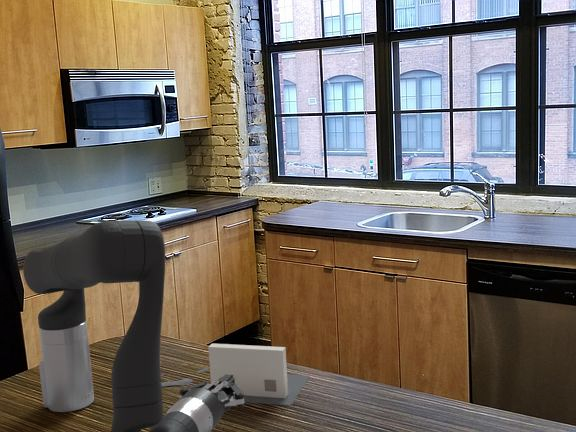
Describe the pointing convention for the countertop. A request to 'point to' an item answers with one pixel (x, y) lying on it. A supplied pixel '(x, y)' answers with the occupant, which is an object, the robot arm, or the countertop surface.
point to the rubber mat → (293, 390)
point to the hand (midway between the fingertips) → (229, 379)
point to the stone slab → (182, 382)
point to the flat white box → (251, 368)
